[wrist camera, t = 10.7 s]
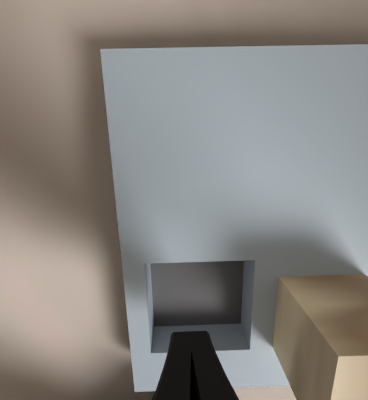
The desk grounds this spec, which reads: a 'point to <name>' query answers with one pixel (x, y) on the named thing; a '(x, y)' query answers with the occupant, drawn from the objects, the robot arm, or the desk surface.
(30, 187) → the desk surface
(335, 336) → the block
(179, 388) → the robot arm
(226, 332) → the board
